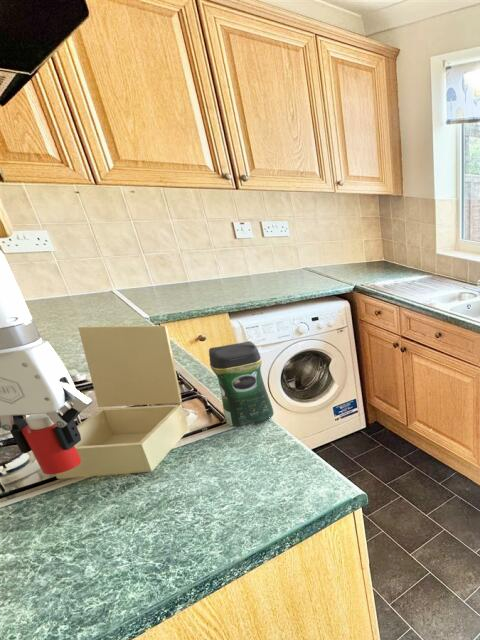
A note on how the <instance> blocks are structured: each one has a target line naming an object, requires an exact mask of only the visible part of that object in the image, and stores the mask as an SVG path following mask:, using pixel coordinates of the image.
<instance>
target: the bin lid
mask: <svg viewBox="0 0 480 640" xmlns="http://www.w3.org/2000/svg"><path fill="white" fill-rule="evenodd" d="M77 329H78V333H79V336H80V340H81V344H82V348H83V352H84V356H85V360H86V363H87V367H88V371H89V375H90V379H91V383H92V387H93V392H94V395H95V400H96V402H97V403H96V404H97V407H98V408H110V407H127V406H128V407H131V406H152V405H173V404H181V403H183V400H182V394H181V390H180V385H179V384H180V383H179V380H178V379H179V378H178V374H177V369H176V365H175V360H174V354H173V349H172V345H171V339H170V335H169V329H168V326H167V325H132V326H131V325H126V326H125V325H123V326H122V325H121V326H119V325H118V326H115V325H113V326H78V328H77Z"/></svg>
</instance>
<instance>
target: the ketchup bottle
mask: <svg viewBox="0 0 480 640" xmlns="http://www.w3.org/2000/svg"><path fill="white" fill-rule="evenodd" d="M26 421H27V423H28V425H27V426H26V427H24V428H23V429H22V433H23V435H24V437H25V439H26V441H27V442H28V444H29V446H30V448H31V452H32V454H33V456H34V458H35V460H36V462H37V463H38V466H39V468H40V469H41V471H42V473H43V474H45V475H55V474H58V473H62V472H65V471H68V470H71V469H73V468H75V467H76V466H78V465H79V464H80V463H81V459H80V457H79V455H78V452H77V450H76V448H75V446H73V447H72V448H71V449H69V450H63V449H62V448H61V446H60V444H59V441H58V439H57V437H56V435H55V433H54V431H53V429H54V428H55V427H57V426H56V425H55V424H54V422H53V421H52V420H51V419H50V418H49V416H48V415H47V414H31V415H29V416H26Z"/></svg>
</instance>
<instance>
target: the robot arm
mask: <svg viewBox="0 0 480 640" xmlns="http://www.w3.org/2000/svg"><path fill="white" fill-rule="evenodd" d="M68 402H71V403H72V406H71V405H70V404H69V403H68ZM92 404H93V399H91V398H90V397H88V396H86V395H85V394H84V393H82V392H80V390H78V389H77V388H76V386H75V383H74V381H73V378H72V377H71V375H70V373H69V371H68V368H67V367H66V366H65V363H64V362H63V360H62V359H61V358H60V356H59V355H58V353H57V352H56V351H55V349H54V348H53V346H52V344H50V343H49V342H48V340H46V339H45V340H44V339H43V338H42V337H41V334H40V332H39V330H38V327H37V325H36V324H35V321H34V319H33V316H32V314H31V312H30V309H29V307H28V305H27V303H26V301H25V298H24V296H23V294H22V291H21V289H20V287H19V285H18V283H17V281H16V278H15V276H14V274H13V272H12V269H11V267H10V265H9V262H8V260H7V259H6V257H5V255H4V253H3V251H2V250H1V249H0V427H1V429H2V430H3V431H7V432H10V434H11V436H12V437H13V440H14V441H15V443H16V445H17V447H18V449H19V451H20V452H21V453H22V454H28V453H29V452H32V450H31V448H30V446H29V444H28V442H27V441H26V439H25V437H24V435H23V433H22V429H23V428H24V427H26V426H27V425H28V423H27V421H26V418H27V416H28V415H29V416H31V415H34V414H47V415H48V416H49V418H50V419H51V420H52V421H53V422H54V424H55V425H56V426H57V427H55V428H54V429H53V431H54V433H55V435H56V437H57V439H58V441H59V444H60V446H61V448H62V449H63V450H69V449H71V448H72V447H73V446H75V445H76V444H77V443H78V442H80V441H81V435H80V433H79V431H78V428H77V426H78V425H77V424H76V422H75V420H76V419H78V417H79V415H80V414H81V413H82V412H83V411H84V410H85V409H86V408H88V407H89V406H90V405H92Z"/></svg>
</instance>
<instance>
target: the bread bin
mask: <svg viewBox="0 0 480 640" xmlns="http://www.w3.org/2000/svg"><path fill="white" fill-rule="evenodd" d="M76 426H77V428H78V431H79V433H80V435H81V441H80V442H78V443H77V444H76V445H75V448H76V450H77V452H78V455H79V457H80V459H81V463H80V464H79V465H78V466H76V467H75V468H73V469H71V470H68V471H65V472H62V473H58V474H54V475H55V477H56V479H57V480H63V479H74V478H75V479H76V478H88V477H100V476H101V477H102V476H111V475H125V474H139V473H150V472H151V473H152V472H153V471H154V470H155V469H156V468H157V467H158V465H159V464H160V463H161V462H162V461H163V460H164V459H165V457H166V456H168V454H169V453H170V452H171V450H173V448H174V447H175V446H176V445H177V444H178V442H179V441H180V440H181V439H182V438H183V437H184V435H186V434H187V432H188V431H189V430H190V426H189V423H188V420H187V417H186V413H185V411H184V406H183V404H164V405H143V406H128V407H127V406H123V407H101V408H99V409H98V410H97V411H95V412H94V413H93V414H91V415H90V416H88V417H87V418H85V420H83V421H82V422H80V423H79V424H78V425H76Z"/></svg>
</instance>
